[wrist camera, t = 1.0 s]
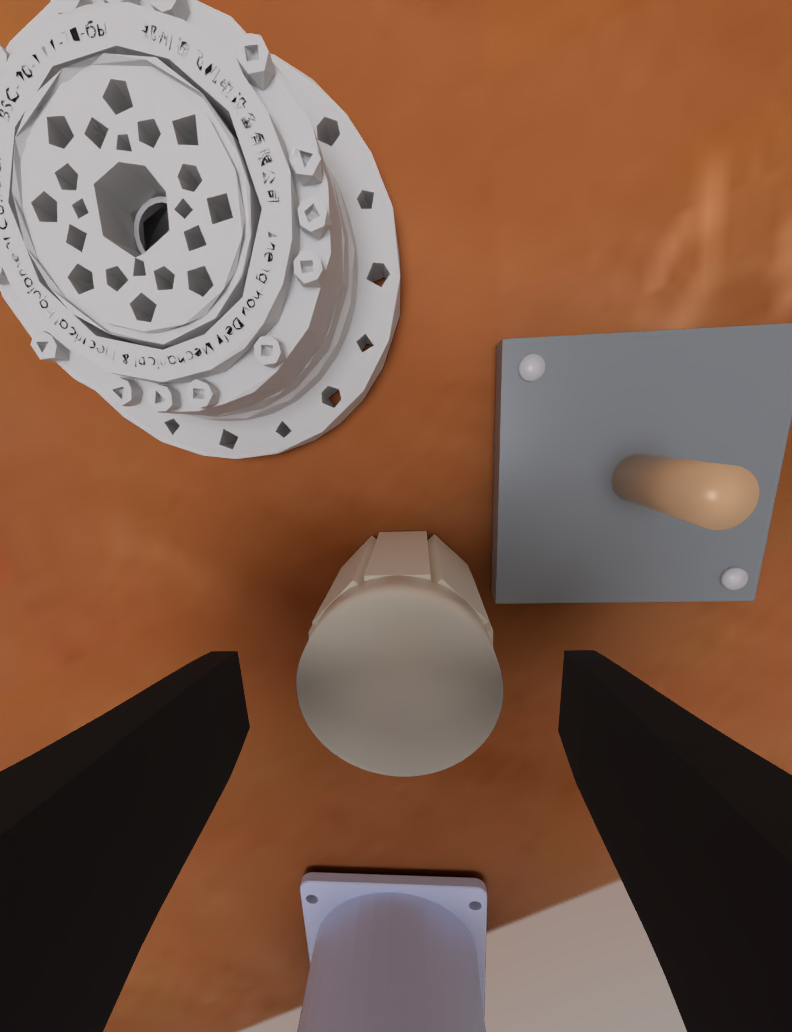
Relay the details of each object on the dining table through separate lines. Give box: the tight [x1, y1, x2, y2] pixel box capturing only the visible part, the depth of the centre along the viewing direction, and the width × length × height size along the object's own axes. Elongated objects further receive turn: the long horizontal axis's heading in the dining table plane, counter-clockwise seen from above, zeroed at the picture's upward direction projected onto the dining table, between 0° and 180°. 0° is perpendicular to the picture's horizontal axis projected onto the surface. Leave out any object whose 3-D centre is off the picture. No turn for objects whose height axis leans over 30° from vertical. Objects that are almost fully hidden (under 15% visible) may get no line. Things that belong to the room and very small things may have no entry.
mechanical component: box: [0, 0, 400, 459], centre depth 9 cm, size 10×4×10 cm
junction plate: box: [491, 323, 792, 604], centre depth 10 cm, size 8×8×4 cm
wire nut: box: [296, 531, 503, 777], centre depth 11 cm, size 5×5×5 cm
